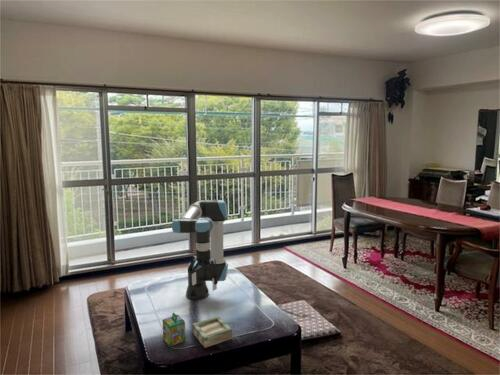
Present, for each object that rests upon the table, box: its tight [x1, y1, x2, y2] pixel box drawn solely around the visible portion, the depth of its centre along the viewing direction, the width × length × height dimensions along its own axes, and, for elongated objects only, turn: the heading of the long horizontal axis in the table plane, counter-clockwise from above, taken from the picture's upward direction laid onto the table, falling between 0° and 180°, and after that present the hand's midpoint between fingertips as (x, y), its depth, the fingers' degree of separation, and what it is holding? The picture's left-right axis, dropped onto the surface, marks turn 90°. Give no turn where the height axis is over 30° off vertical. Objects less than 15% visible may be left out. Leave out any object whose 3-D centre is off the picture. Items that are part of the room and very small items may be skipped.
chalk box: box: [161, 312, 186, 347], centre depth 192 cm, size 9×9×15 cm
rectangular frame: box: [192, 315, 233, 349], centre depth 196 cm, size 16×16×6 cm
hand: (204, 286), depth 195 cm, fingers open, 13 cm apart
